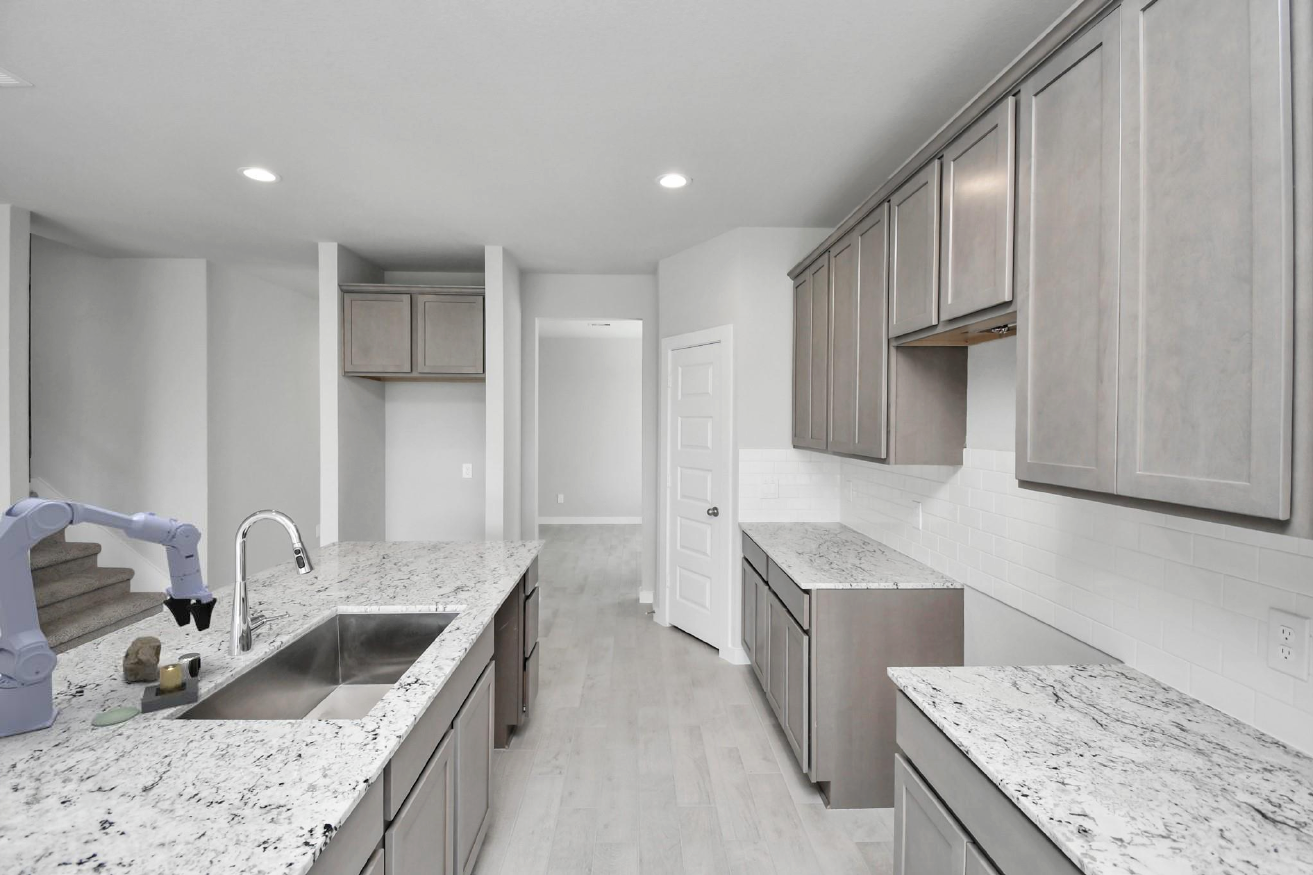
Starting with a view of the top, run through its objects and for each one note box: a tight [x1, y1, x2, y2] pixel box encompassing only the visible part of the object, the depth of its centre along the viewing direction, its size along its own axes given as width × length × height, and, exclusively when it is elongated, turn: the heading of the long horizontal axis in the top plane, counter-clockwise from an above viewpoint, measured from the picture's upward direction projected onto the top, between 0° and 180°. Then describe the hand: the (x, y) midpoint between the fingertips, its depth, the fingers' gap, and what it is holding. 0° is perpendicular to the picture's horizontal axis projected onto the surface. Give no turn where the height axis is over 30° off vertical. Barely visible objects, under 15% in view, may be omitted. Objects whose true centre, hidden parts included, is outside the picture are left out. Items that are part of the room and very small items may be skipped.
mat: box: [91, 706, 140, 727], centre depth 119 cm, size 7×7×1 cm
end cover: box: [159, 663, 183, 695], centre depth 127 cm, size 4×4×7 cm
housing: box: [140, 676, 199, 715], centre depth 127 cm, size 9×9×2 cm
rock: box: [122, 635, 162, 682], centre depth 139 cm, size 12×7×10 cm, turn 38°
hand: (194, 627), depth 142 cm, fingers open, 7 cm apart
